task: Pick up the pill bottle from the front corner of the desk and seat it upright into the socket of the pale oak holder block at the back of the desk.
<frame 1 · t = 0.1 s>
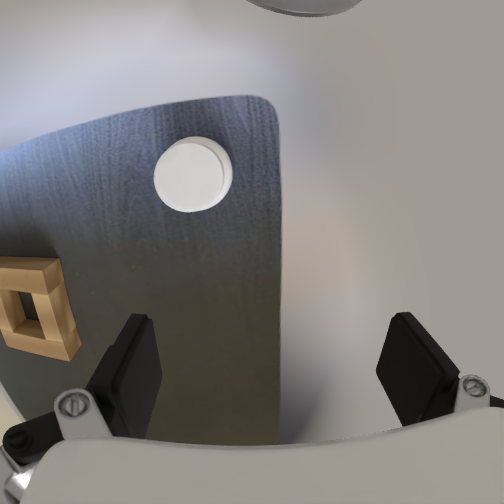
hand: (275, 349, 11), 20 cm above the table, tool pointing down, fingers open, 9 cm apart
pill bottle: (206, 168, 28), on the table
holder: (35, 300, 32), on the table
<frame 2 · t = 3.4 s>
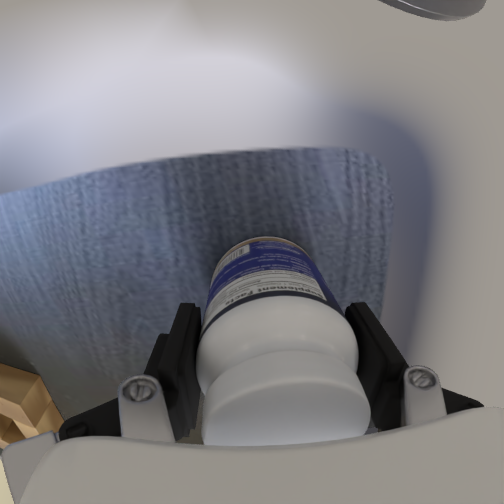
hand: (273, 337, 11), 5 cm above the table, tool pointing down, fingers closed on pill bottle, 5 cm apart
pill bottle: (265, 282, 16), on the table, touching gripper
holder: (20, 406, 21), on the table
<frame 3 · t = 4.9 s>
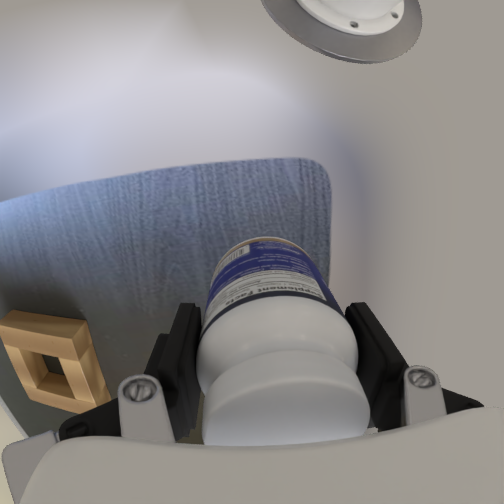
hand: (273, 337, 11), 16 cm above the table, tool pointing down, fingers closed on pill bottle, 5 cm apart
pill bottle: (265, 282, 16), point 11 cm above the table, touching gripper
holder: (59, 356, 31), on the table
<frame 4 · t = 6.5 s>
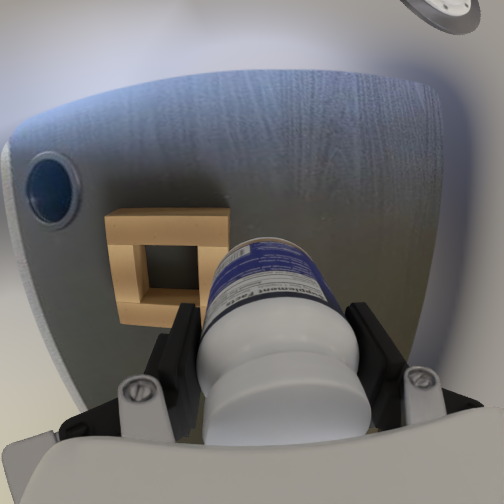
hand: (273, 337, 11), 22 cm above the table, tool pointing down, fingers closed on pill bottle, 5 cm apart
pill bottle: (265, 282, 16), point 17 cm above the table, touching gripper
holder: (174, 262, 34), on the table
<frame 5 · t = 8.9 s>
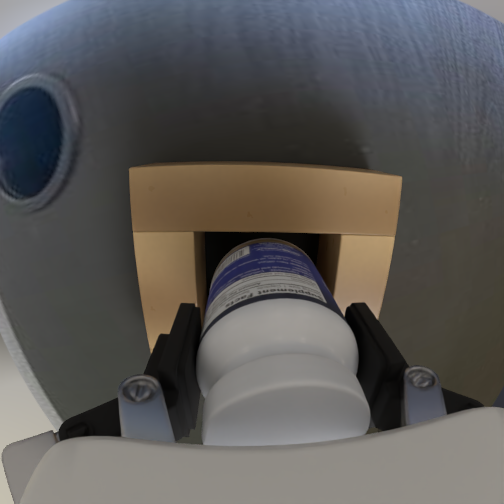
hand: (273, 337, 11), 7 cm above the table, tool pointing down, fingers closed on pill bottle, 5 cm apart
pill bottle: (265, 283, 16), point 2 cm above the table, touching gripper
holder: (261, 268, 18), on the table
when the fingers open (5 cm above the table, at t = 10.1 s): pill bottle stays where it is, resting in holder.
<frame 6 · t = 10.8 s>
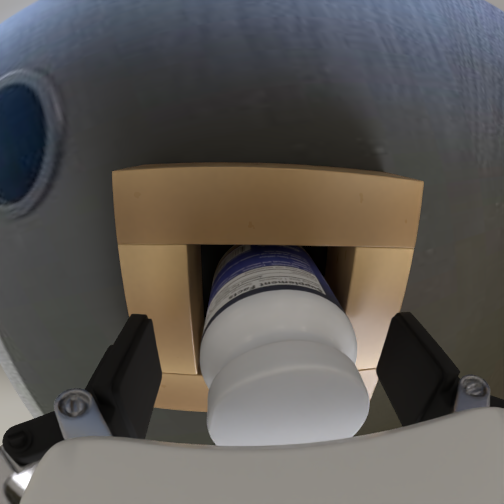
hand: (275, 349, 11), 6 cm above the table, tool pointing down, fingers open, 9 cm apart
pill bottle: (265, 279, 17), resting in holder
holder: (263, 281, 16), on the table
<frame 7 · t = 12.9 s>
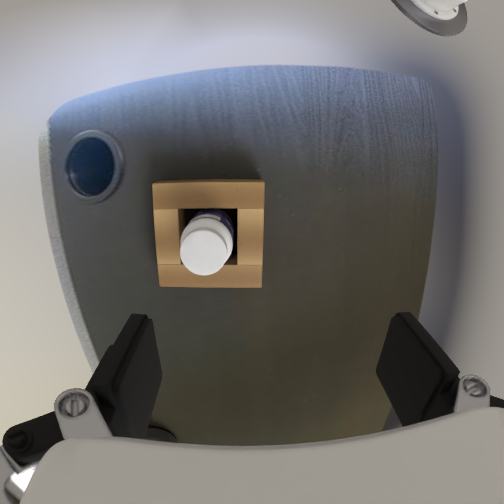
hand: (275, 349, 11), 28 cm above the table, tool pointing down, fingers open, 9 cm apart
pill bottle: (211, 228, 38), resting in holder
holder: (211, 228, 38), on the table
smart speaker: (158, 436, 52), on the table
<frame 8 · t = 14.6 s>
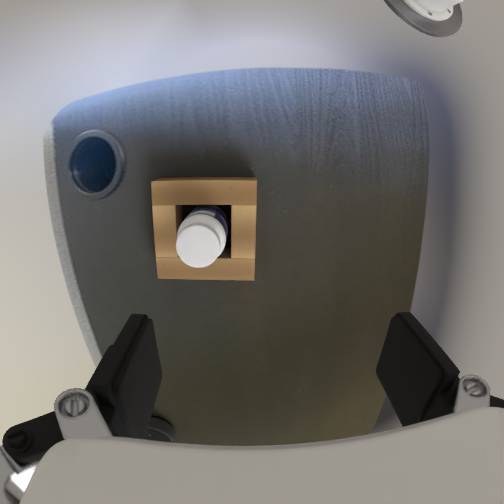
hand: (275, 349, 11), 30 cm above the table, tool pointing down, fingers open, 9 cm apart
pill bottle: (208, 223, 40), resting in holder
holder: (207, 224, 40), on the table
smart speaker: (156, 425, 55), on the table
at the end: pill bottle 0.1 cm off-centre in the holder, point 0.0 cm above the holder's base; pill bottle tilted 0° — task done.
